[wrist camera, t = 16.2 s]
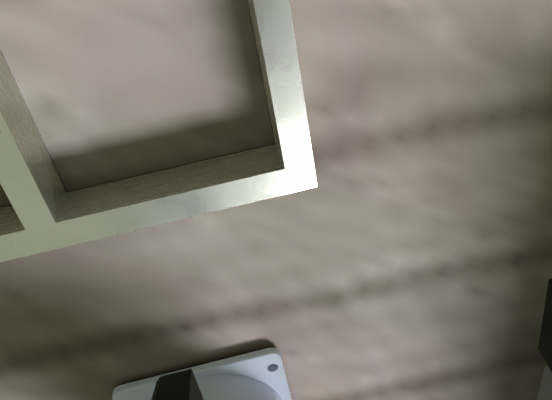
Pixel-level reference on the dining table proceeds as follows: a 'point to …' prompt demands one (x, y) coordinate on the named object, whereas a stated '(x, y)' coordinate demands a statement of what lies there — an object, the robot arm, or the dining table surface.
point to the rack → (162, 184)
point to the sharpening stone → (546, 385)
